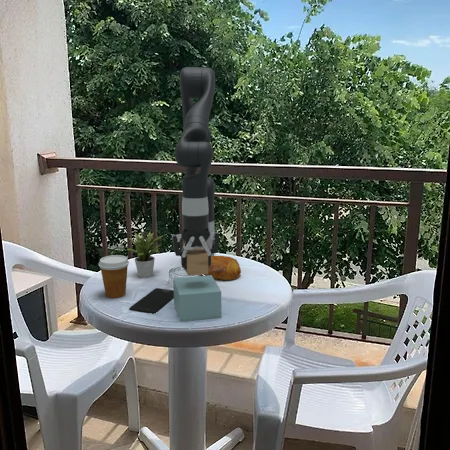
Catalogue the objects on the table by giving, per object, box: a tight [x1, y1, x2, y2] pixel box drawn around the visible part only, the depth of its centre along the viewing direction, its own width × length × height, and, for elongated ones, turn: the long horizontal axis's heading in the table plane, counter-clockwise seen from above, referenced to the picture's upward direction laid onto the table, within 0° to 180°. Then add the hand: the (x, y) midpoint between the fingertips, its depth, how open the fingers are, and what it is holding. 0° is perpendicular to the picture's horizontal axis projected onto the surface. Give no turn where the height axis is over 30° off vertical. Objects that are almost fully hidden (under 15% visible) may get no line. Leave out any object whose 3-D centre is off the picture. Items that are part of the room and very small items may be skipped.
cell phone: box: [128, 287, 174, 315], centre depth 159 cm, size 9×18×1 cm, turn 160°
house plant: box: [126, 231, 165, 279], centre depth 179 cm, size 14×14×16 cm
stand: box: [172, 275, 222, 322], centre depth 152 cm, size 14×12×8 cm
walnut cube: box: [184, 249, 208, 277], centre depth 149 cm, size 6×6×6 cm
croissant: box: [204, 255, 242, 281], centre depth 182 cm, size 14×16×8 cm
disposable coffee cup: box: [98, 254, 130, 299], centre depth 163 cm, size 10×10×12 cm
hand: (196, 267), depth 149 cm, fingers closed on walnut cube, 6 cm apart
